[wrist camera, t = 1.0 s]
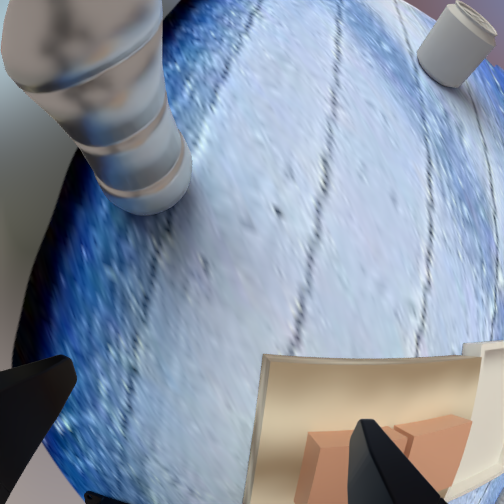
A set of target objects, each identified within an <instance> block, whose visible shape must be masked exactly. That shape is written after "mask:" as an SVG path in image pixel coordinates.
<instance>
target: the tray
mask: <svg viewBox="0 0 504 504" xmlns="http://www.w3.org/2000/svg"><path fill="white" fill-rule="evenodd" d="M462 356H474V357H482V360H481V367H480V374H479V381H478V387H477V392H476V397H475V402H474V407H473V412H472V416H471V421H472V425H471V429H470V433H469V437H468V440H467V443H466V447H465V450H464V453H463V456H462V459H461V462H460V465H459V468H458V471H457V473H456V476H455V479H454V481H453V484H452V486H451V487H449V488H448V491H447V493H446V495H445V498H444V500H445V501H446V502H449V501H451V500H453V499H456V498H458V497H460V496H462V495H464V494H466V493H468V492H470V491H472V490H474V489H476V488H478V487H480V486H482V485H484V484H486V483H487V482H489V481H491V480H493V479H494V478H496V477H498V476H499V475H501V474H503V473H504V340H498V341H487V342H475V343H463V349H462Z"/></svg>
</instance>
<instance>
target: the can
mask: <svg viewBox="0 0 504 504" xmlns="http://www.w3.org/2000/svg"><path fill="white" fill-rule="evenodd" d="M495 36H497V32H496V31H495V29H494V28H493V27H492V26H491V25H490V24H489V23H488V22H487V20H486V19H484V18H483V17H482V16H481V15H480V14H479V13H478V12H476V11H475V10H474V9H472V8H471V7H470V6H468V5H466V4H465V3H463V2H461V1H456V4H448V5H447V6H446V8H445V9H444V11H443V12H442V14H441V16H440V17H439V19H438V20H437V22H436V23H435V25H434V26H433V28H432V29H431V31H430V32H429V34H428V35H427V37H426V38H425V40H424V41H423V43H422V45H421V46H420V48H419V49H418V51H417V57H418V59H419V63H420V65H421V67H422V68H423V69H424V70H425V72H426V73H427V74H428V75H429V76H430V77H432V78H433V79H434V80H435V81H437V82H438V83H440V84H441V85H444V86H446V87H454V88H458V87H460V86H461V85H462V84H463V82H464V81H465V80H466V79H467V78H468V77H469V76H470V75H471V74H472V72H473V71H474V70H475V69H476V68H477V67H478V66H479V65H480V63H481V62H482V61H483V60H484V59H485V58H486V57H487V55H488V54H489V53H490V52H491V51H492V50H493V48H494V47H495V46H496V44H495V38H494V37H495Z"/></svg>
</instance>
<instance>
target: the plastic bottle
mask: <svg viewBox="0 0 504 504" xmlns="http://www.w3.org/2000/svg"><path fill="white" fill-rule="evenodd" d="M162 11H163V10H162V0H10V1H9V4H8V8H7V12H6V15H5V19H4V25H3V33H2V42H1V53H2V58H3V62H4V66H5V70H6V72H7V73H8V75H9V76H10V77H11V78H12V80H13V81H14V82H15V83H16V84H17V86H18V87H19V88H21V89H22V90H23V91H24V92H25V93H26V94H27V95H28V96H29V97H30V98H31V99H32V100H34V101H35V102H36V103H37V104H38V105H39V106H40V107H41V108H42V109H44V110H45V111H46V112H47V113H48V114H49V115H50V116H51V117H52V118H53V119H55V120H56V121H57V123H58V124H59V125H60V126H61V127H62V129H63V130H64V131H65V132H66V133H67V134H68V135H69V137H71V138H72V140H73V141H74V142H75V143H76V144H77V146H78V147H79V148H80V149H81V151H82V153H83V154H84V156H85V158H86V159H87V161H88V163H89V164H90V166H91V168H92V169H93V171H94V173H95V176H96V179H97V181H98V183H99V185H100V187H101V189H102V191H103V192H104V194H105V196H106V197H107V198H108V199H109V201H110V202H112V203H113V204H114V205H116V206H117V207H119V208H121V209H123V210H125V211H127V212H129V213H131V214H136V215H153V214H158V213H160V212H163V211H166V210H167V209H169V208H171V207H172V206H174V205H175V204H176V203H177V202H178V201H179V200H180V199H181V198H182V197H183V195H184V194H185V192H186V190H187V189H188V187H189V183H190V180H191V173H192V156H191V152H190V150H189V147H188V145H187V143H186V141H185V139H184V137H183V135H182V134H181V132H180V131H179V129H178V128H177V125H176V123H175V120H174V118H173V115H172V112H171V110H170V107H169V104H168V100H167V93H166V89H165V80H164V74H163V67H162V17H163V13H162Z"/></svg>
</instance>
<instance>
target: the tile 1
mask: <svg viewBox="0 0 504 504" xmlns="http://www.w3.org/2000/svg"><path fill="white" fill-rule="evenodd" d="M381 428H382V429H383V430H384V432H385V433H386V434H387V435H388V436H389V437H390V439H391V440H392V441H393V442H394V443H395V444H396V445H397V447H398V448H399V449H400V450H401V451H402V452H403V454H404V451H405V447H406V443H407V439H408V437H406V436H404V435H403V434H401V433H399V432H397V431H396V430H394V429H392V428H390V427H389V426H384V427H381ZM353 431H354V430H342V431H320V432H308V435H307V440H306V446H305V451H304V456H303V461H302V466H301V470H300V475H299V480H298V484H297V488H296V493H295V497H294V503H295V504H348V494H347V481H348V464H349V442H350V437H351V435H352V433H353Z"/></svg>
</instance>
